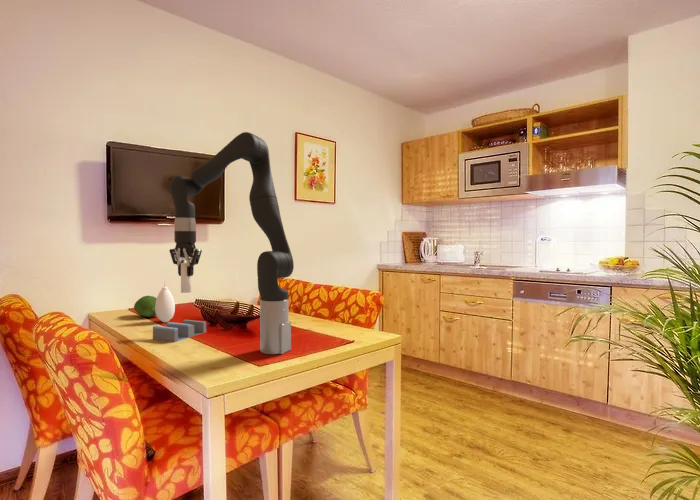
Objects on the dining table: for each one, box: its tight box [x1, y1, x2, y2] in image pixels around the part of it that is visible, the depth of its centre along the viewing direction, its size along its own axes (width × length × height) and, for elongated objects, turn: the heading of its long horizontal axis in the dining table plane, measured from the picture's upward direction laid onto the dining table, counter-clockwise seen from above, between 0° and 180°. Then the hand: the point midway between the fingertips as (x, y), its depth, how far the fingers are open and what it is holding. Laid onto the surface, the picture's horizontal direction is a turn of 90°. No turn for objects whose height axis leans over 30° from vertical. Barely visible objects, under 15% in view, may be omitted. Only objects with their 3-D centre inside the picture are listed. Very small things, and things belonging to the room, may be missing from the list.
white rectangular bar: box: [180, 262, 192, 294], centre depth 150 cm, size 4×4×11 cm
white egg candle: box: [155, 281, 176, 323], centre depth 176 cm, size 8×8×18 cm
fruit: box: [133, 295, 157, 318], centre depth 187 cm, size 15×10×10 cm, turn 54°
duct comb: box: [152, 319, 207, 343], centre depth 148 cm, size 10×16×6 cm, turn 160°
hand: (185, 275), depth 150 cm, fingers closed on white rectangular bar, 3 cm apart
